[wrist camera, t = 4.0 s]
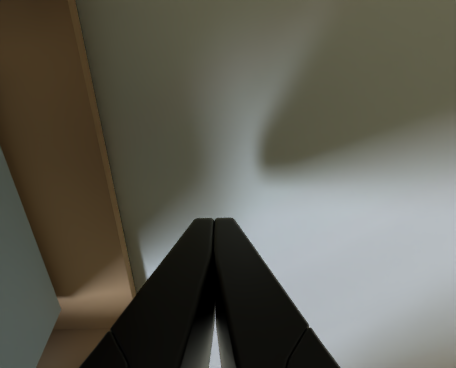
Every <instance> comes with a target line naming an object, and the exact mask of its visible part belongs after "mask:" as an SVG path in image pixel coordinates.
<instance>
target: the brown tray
mask: <svg viewBox="0 0 456 368" xmlns="http://www.w3.org/2000/svg"><path fill="white" fill-rule="evenodd" d="M0 146H1V149H2V152H3V154H4V157H5V160H6V162H7V165H8V168H9V170H10V173H11V176H12V179H13V181H14V184H15V187H16V189H17V192H18V195H19V197H20V200H21V203H22V205H23V208H24V211H25V213H26V216H27V219H28V221H29V224H30V227H31V229H32V232H33V235H34V237H35V240H36V243H37V245H38V248H39V251H40V253H41V256H42V259H43V262H44V264H45V267H46V270H47V272H48V275H49V278H50V280H51V283H52V286H53V288H54V291H55V294H56V296H57V299H58V302H59V304H60V307H61V311H60V314H59V316H58V318H57V321H56V323H55V325H54V328H53V330H52V332H51V334H50V337H49V339H48V341H47V344H46V346H45V348H44V350H43V353H42V355H41V357H40V360H39V362H38V364H37V367H36V368H79V367H80V365H81V364H82V363H83V362H84V360H85V359H86V358H87V357H88V356H89V354H90V353H91V352H92V351H93V349H94V348H95V347H96V346H97V344H98V343H99V342H100V341H101V339H102V338H103V337H104V335H105V334H106V333H107V332H108V331H110V328H111V327H112V325H113V324H114V323H115V321H116V320H117V319H118V318H119V316H120V315H121V314H122V312H123V311H124V310H125V309H126V307H127V306H128V305H129V303H130V302H131V301H132V299H133V298H134V297H135V296H136V291H135V286H134V281H133V276H132V272H131V267H130V262H129V257H128V252H127V247H126V243H125V238H124V233H123V228H122V223H121V218H120V214H119V209H118V204H117V199H116V194H115V190H114V185H113V180H112V175H111V170H110V165H109V161H108V156H107V151H106V146H105V141H104V136H103V132H102V127H101V122H100V117H99V112H98V108H97V103H96V98H95V93H94V88H93V83H92V79H91V74H90V69H89V64H88V59H87V54H86V50H85V45H84V40H83V35H82V30H81V26H80V21H79V16H78V11H77V6H76V1H75V0H0Z"/></svg>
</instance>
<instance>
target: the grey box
mask: <svg viewBox="0 0 456 368" xmlns="http://www.w3.org/2000/svg"><path fill="white" fill-rule="evenodd" d="M60 311H61V307H60V304H59V302H58V299H57V296H56V294H55V291H54V288H53V286H52V283H51V280H50V278H49V275H48V272H47V270H46V267H45V264H44V262H43V259H42V256H41V253H40V251H39V248H38V245H37V243H36V240H35V237H34V235H33V232H32V229H31V227H30V224H29V221H28V219H27V216H26V213H25V211H24V208H23V205H22V203H21V200H20V197H19V195H18V192H17V189H16V187H15V184H14V181H13V179H12V176H11V173H10V170H9V168H8V165H7V162H6V160H5V157H4V154H3V152H2V149H1V146H0V368H36V367H37V364H38V362H39V360H40V357H41V355H42V353H43V350H44V348H45V346H46V344H47V341H48V339H49V337H50V334H51V332H52V330H53V328H54V325H55V323H56V321H57V318H58V316H59V314H60Z"/></svg>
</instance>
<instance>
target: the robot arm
mask: <svg viewBox="0 0 456 368" xmlns="http://www.w3.org/2000/svg"><path fill="white" fill-rule="evenodd" d="M215 314H216V328H217V336H218V344H219V352H220V360H221V368H340V366H339V365H338V364H337V362H336V361H335V360H334V358H333V357H332V356H331V354H330V353H329V352H328V350H327V349H326V348H325V346H324V345H323V344H322V342H321V341H320V340H319V338H318V337H317V335H316V334H315V332H314V331H313V330H312V328H309V324H308V323H307V321H306V320H305V319H304V317H303V316H302V314H301V313H300V311H299V310H298V309H297V307H296V306H295V304H294V303H293V302H292V300H291V299H290V297H289V296H288V294H287V293H286V292H285V290H284V289H283V287H282V286H281V285H280V283H279V282H278V280H277V279H276V277H275V276H274V275H273V273H272V272H271V270H270V269H269V268H268V266H267V265H266V263H265V262H264V260H263V259H262V258H261V256H260V255H259V253H258V252H257V251H256V249H255V248H254V246H253V245H252V243H251V242H250V241H249V239H248V238H247V236H246V235H245V234H244V232H243V231H242V229H241V228H240V227H239V225H238V224H237V222H236V221H235V220H234V219H233V218H216V219H215V221H214V220H213V219H212V218H196V219H195V220H194V221H193V222H192V223H191V225H190V226H189V227H188V228H187V230H186V231H185V232H184V234H183V235H182V236H181V237H180V239H179V240H178V241H177V243H176V244H175V245H174V246H173V248H172V249H171V250H170V252H169V253H168V254H167V256H166V257H165V258H164V259H163V261H162V262H161V263H160V265H159V266H158V267H157V268H156V270H155V271H154V272H153V274H152V275H151V276H150V278H149V279H148V280H147V281H146V283H145V284H144V285H143V287H142V288H141V289H140V290H139V292H138V293H137V294H136V296H135V297H134V298H133V299H132V301H131V302H130V303H129V305H128V306H127V307H126V309H125V310H124V311H123V312H122V314H121V315H120V316H119V318H118V319H117V320H116V321H115V323H114V324H113V325H112V327H111V328H110V331H108V332H107V333H106V334H105V335H104V337H103V338H102V339H101V341H100V342H99V343H98V344H97V346H96V347H95V348H94V349H93V351H92V352H91V353H90V354H89V356H88V357H87V358H86V359H85V360H84V362H83V363H82V364H81V365H80V367H79V368H209V362H210V354H211V347H212V339H213V331H214V322H215Z"/></svg>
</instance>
